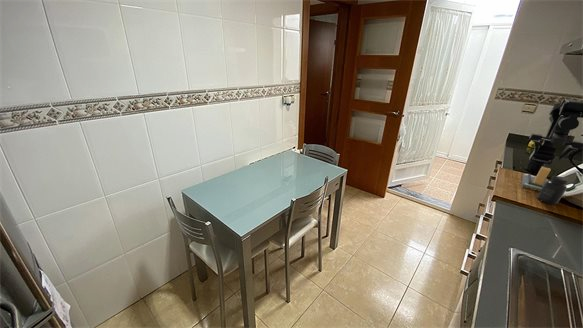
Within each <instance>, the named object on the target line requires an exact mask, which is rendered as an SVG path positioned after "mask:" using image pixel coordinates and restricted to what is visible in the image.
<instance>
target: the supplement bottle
mask: <svg viewBox="0 0 583 328" xmlns="http://www.w3.org/2000/svg"><path fill="white" fill-rule="evenodd" d="M568 182H569V179H568V178H565V177H563V176H559V175H552V177H551V178H550V180H549V181H547V182H546V183H545V184H544V186H543V188H542V189H541V191H540V192H539V193H538V195H537V197H538V198H539V199H540V200H542V201H544V202H546V203H545V204H547V203H549V204H548V205H552V204H555V205H557V204H559V202H560V200H561V198H562V197H563V196H564V194H565V193H566V191H567V189H568V187H567V183H568ZM538 198H537V199H538ZM539 199H538V200H539ZM540 200H539V201H540ZM542 201H541V202H542ZM544 202H543V203H544Z"/></svg>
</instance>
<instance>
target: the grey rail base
mask: <svg viewBox="0 0 583 328" xmlns="http://www.w3.org/2000/svg"><path fill="white" fill-rule="evenodd" d="M536 176H537V175H532V174H531V173H523V174H522V175H521V179H522V180H521V187H522V186H523V187H522V188H525V187H527V188H526V189H528V188H532V189H536V190H539V191H541V189H542V187H538V186H534V185H531V181H532V180H533V181H534V180H535V178H536ZM547 181H550V180H549V179H547V178H546V179H545V181H544V182H543V184H545V183H546V182H547ZM532 189H531V190H532ZM539 191H538V192H539Z"/></svg>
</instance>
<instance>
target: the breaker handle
mask: <svg viewBox="0 0 583 328" xmlns="http://www.w3.org/2000/svg"><path fill="white" fill-rule="evenodd" d="M550 172H551V168H550V167H546V166H545V167H541V169H540V171H539V172H538V173H536V175H535V176H536V178H535V180H534V181H533V180H532V181H531V185H534V186H538V187H542V188H543V186H544V184H543V182H544V181H545V179H547V178H548V176H549V174H550Z"/></svg>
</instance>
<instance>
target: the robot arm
mask: <svg viewBox="0 0 583 328" xmlns="http://www.w3.org/2000/svg"><path fill="white" fill-rule="evenodd" d="M548 115H549V117H548V119H549V122H550V125H549V128H548V129H547V131H546V134H545V136H543V134H540V133H530V135H529V140H530V141H531V142H532V143H534V150H533V152H532V153H530V156H529V158H528V159H529V161H530V162H528V164H527V166H525V167H523V169H525V170H527V171H529V172H531V173H532V174H538V172H539V171H540V169H541V167H546V166H547V165H551V164H552V163H553V162H554V161H555V160H556V158H557V157H556V150H557V148H556V147H555V146H554V145H555V144H556V145H561V146H564V145H566V147H565V149H564V150H563V151H562V153H561V154H560V155H559V157H558V160H559V161H560V160H561V159H563V158H564V157H565V156H566V155H567V154H569V153H571V152H574V151H578V150H583V141H581V140H580V141H579V140H575V138H576V136H575V135H569V134H570V132H571V131H572V130H576V129H577V128H578V127H579V125H580V121H579V120H578V118H579V119H583V101H578V100H576V99H571V98H570V99H569V98H563V99H562V100H561V102H558V103H556V104H554V105H553V106H552V108H551V110H550V111H549V114H548ZM541 141H542V143H541Z"/></svg>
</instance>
